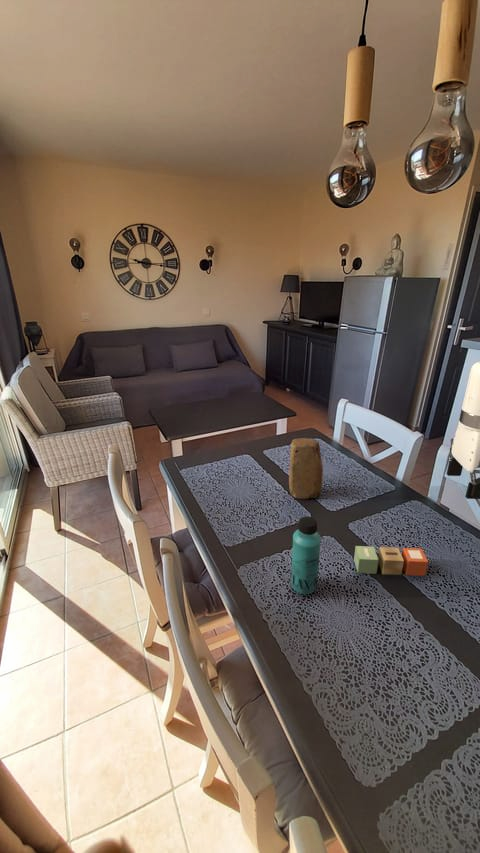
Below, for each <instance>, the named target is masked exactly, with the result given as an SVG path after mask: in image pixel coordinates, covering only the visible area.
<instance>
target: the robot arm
mask: <svg viewBox="0 0 480 853" xmlns="http://www.w3.org/2000/svg"><path fill="white" fill-rule="evenodd" d="M449 452H450V455H449V456H448V459H449V461H448V465H447V469H446V475H447V476H448V477H460V476H462V473H463V469H464V470H466V471H467V472H468V473H469V476H470V481H468V484H467V488H466V492H465V498H466V499H468V500H480V476H478V477H477V476H476V475H477V474H480V361H477V362H474V364H472V366H471V367H470V371H469V375H468V380H467V384H466V388H465V392H464V397H463V401H462V405H461V410H460V414H459V419H458V425H457V428H456V431H455V434H454V437H453V438H451V439H450V448H449Z"/></svg>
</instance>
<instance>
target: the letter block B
mask: <svg viewBox="0 0 480 853" xmlns="http://www.w3.org/2000/svg"><path fill="white" fill-rule="evenodd" d="M353 562H354V565H355V569H356V573H357V574H368V575H369V574H370V575H371V574H373V575H374V574H375V575H377V572H378V567H379V563H378V555H377V552H376V548H375V546H367V545H365V546H364V545H355V549H354V555H353Z"/></svg>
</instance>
